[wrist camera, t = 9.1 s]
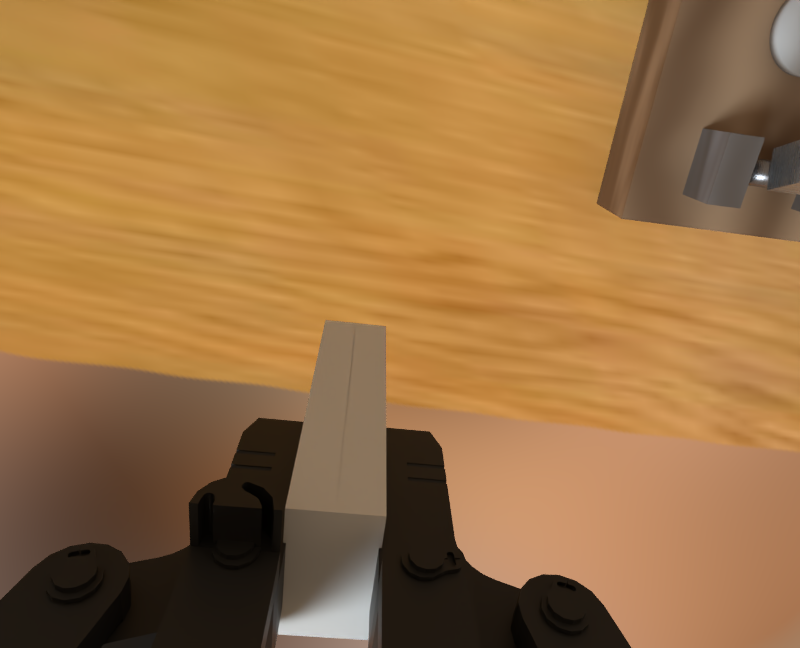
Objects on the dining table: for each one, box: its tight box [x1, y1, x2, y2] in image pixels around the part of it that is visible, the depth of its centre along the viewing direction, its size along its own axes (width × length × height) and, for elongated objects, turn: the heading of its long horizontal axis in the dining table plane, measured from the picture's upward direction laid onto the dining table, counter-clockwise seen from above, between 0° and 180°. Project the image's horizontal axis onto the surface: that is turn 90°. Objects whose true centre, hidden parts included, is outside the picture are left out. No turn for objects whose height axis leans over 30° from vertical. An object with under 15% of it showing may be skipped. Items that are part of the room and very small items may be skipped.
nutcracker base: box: [597, 0, 800, 242], centre depth 36 cm, size 16×14×8 cm
